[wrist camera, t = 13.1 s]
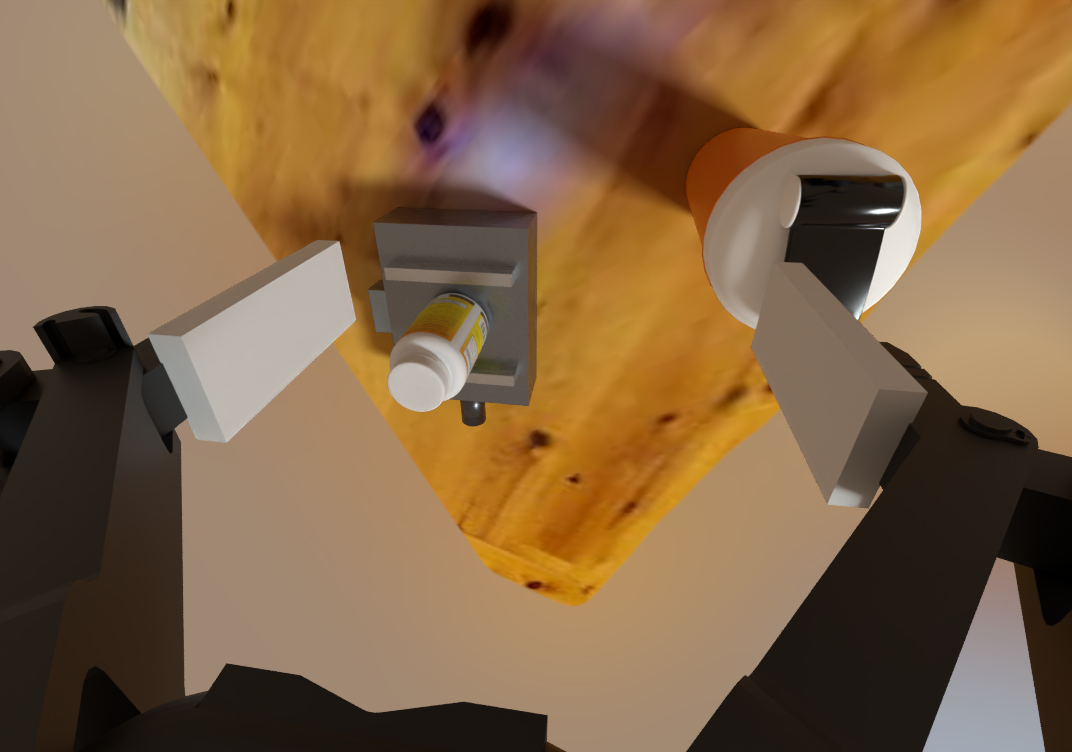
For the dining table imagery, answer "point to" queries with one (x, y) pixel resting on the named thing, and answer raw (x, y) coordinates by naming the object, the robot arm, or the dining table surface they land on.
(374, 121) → the dining table surface
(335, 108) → the dining table surface
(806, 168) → the shaker bottle
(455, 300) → the supplement bottle
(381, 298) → the motor block
